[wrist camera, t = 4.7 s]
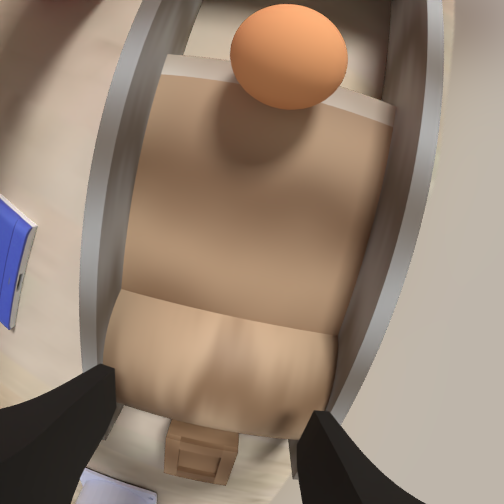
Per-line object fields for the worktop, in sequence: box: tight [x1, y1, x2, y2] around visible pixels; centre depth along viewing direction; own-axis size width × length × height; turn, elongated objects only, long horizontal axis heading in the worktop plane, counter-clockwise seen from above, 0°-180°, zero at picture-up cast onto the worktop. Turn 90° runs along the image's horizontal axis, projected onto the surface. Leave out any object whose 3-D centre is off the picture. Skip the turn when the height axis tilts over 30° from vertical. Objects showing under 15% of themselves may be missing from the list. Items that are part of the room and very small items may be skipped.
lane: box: [79, 0, 444, 480], centre depth 13 cm, size 28×12×10 cm, turn 167°
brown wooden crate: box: [164, 419, 239, 486], centre depth 16 cm, size 4×4×3 cm
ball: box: [230, 4, 348, 110], centre depth 9 cm, size 4×4×4 cm
